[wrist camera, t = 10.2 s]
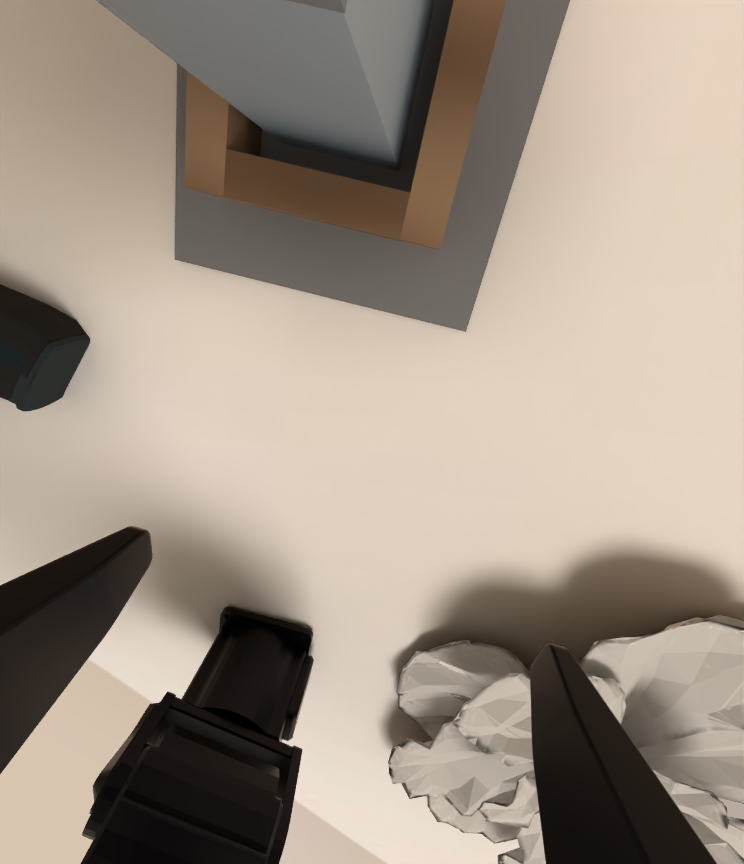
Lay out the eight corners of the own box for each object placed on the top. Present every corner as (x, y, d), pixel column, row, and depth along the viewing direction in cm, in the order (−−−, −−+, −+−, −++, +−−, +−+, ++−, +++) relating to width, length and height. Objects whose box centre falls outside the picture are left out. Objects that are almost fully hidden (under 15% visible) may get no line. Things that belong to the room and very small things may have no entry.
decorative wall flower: (351, 901, 30) (438, 618, 17) (365, 789, 36) (436, 522, 24) (776, 1015, 28) (1215, 790, 16) (713, 876, 34) (990, 635, 22)
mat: (465, 330, 19) (465, 331, 18) (179, 259, 19) (174, 259, 19) (628, -192, 12) (634, -205, 12) (188, -281, 13) (181, -297, 12)
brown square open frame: (438, 250, 17) (440, 249, 15) (222, 198, 18) (184, 187, 15) (525, -78, 13) (549, -165, 10) (241, -138, 13) (193, -239, 11)
